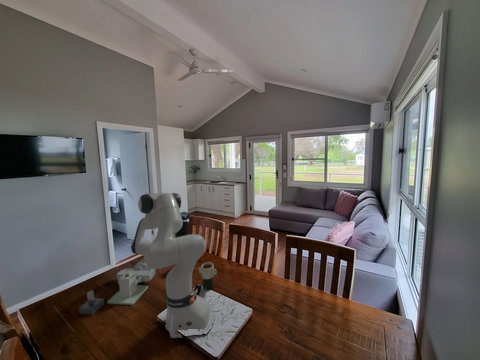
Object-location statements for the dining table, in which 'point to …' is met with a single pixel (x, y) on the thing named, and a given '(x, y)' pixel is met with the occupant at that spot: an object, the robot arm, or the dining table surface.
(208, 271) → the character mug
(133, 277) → the white upright box
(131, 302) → the pad
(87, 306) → the post
